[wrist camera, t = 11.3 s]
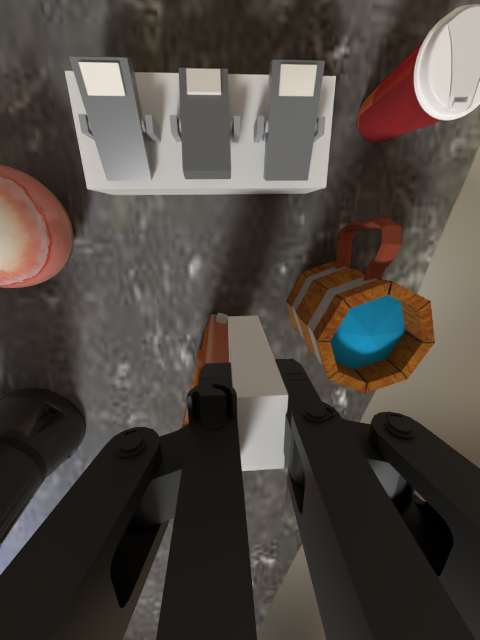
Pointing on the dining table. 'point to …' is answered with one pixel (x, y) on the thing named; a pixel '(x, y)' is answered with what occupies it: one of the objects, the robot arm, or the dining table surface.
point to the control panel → (211, 349)
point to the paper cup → (429, 81)
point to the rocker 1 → (114, 115)
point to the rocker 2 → (205, 123)
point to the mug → (362, 315)
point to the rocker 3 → (291, 118)
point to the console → (166, 144)
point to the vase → (31, 231)
